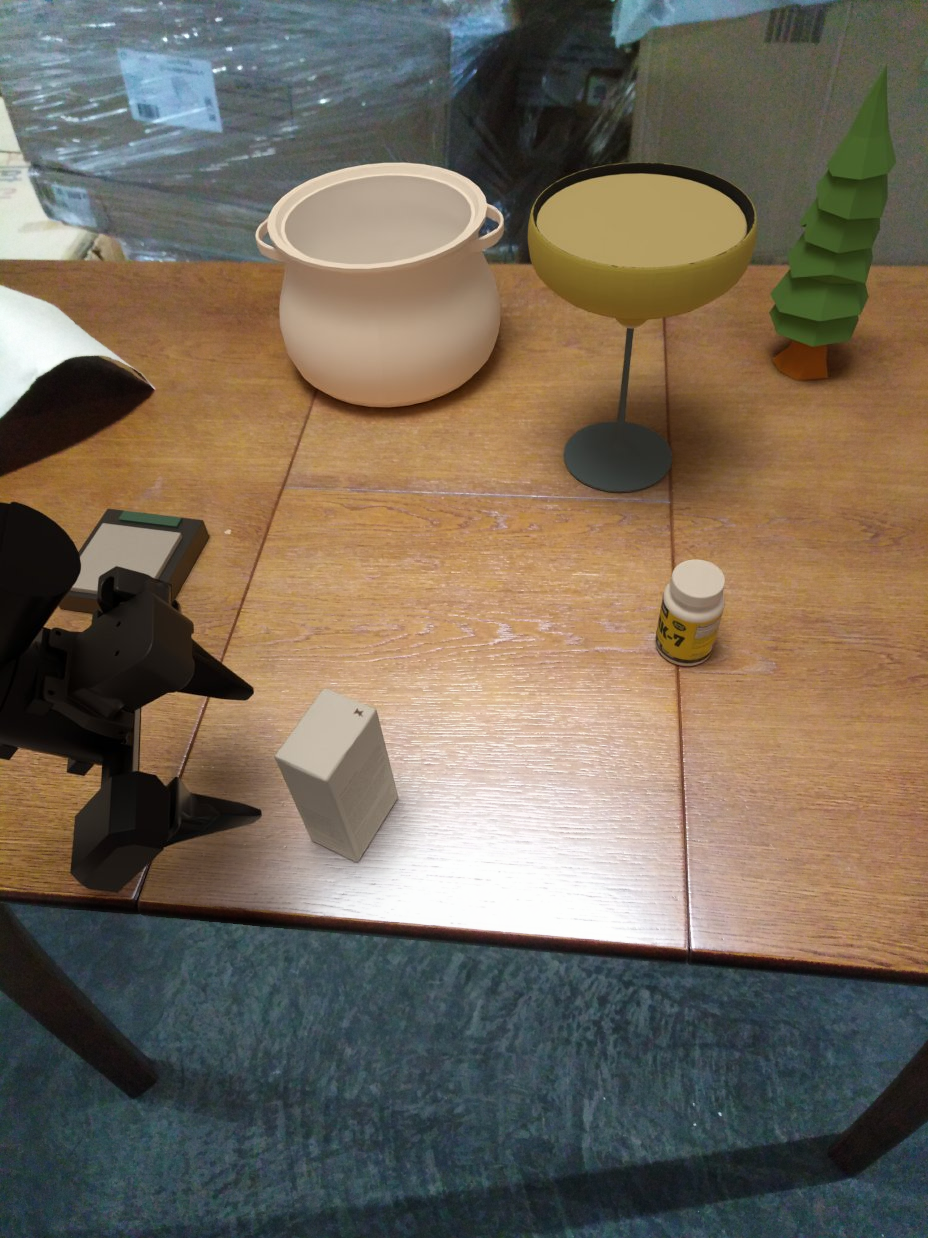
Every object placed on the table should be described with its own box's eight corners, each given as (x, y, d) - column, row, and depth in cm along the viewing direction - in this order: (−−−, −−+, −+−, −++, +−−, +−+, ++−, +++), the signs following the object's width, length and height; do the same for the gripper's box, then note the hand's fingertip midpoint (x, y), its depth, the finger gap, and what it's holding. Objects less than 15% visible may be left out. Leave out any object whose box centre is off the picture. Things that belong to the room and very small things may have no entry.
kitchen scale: (60, 608, 81) (47, 588, 79) (115, 524, 88) (105, 503, 85) (161, 623, 79) (151, 602, 77) (209, 536, 86) (201, 515, 84)
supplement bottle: (643, 635, 75) (654, 567, 69) (691, 615, 76) (706, 546, 70) (675, 676, 72) (690, 609, 66) (724, 655, 73) (743, 587, 67)
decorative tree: (776, 393, 95) (856, 84, 72) (741, 344, 101) (805, 44, 78) (862, 378, 96) (968, 67, 73) (823, 331, 102) (909, 29, 79)
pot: (504, 293, 111) (501, 151, 98) (508, 417, 95) (505, 267, 82) (300, 302, 112) (270, 163, 99) (270, 425, 96) (231, 280, 83)
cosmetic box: (351, 775, 68) (324, 683, 59) (399, 797, 67) (379, 707, 58) (307, 842, 65) (271, 755, 56) (357, 866, 63) (328, 782, 54)
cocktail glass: (696, 399, 95) (739, 155, 76) (722, 517, 84) (780, 265, 64) (526, 403, 96) (526, 164, 77) (528, 520, 85) (529, 274, 66)
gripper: (44, 757, 38) (346, 823, 47) (77, 471, 49) (313, 570, 59) (-54, 876, 43) (234, 913, 52) (-3, 593, 55) (224, 665, 64)
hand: (254, 752), depth 57 cm, fingers open, 9 cm apart
